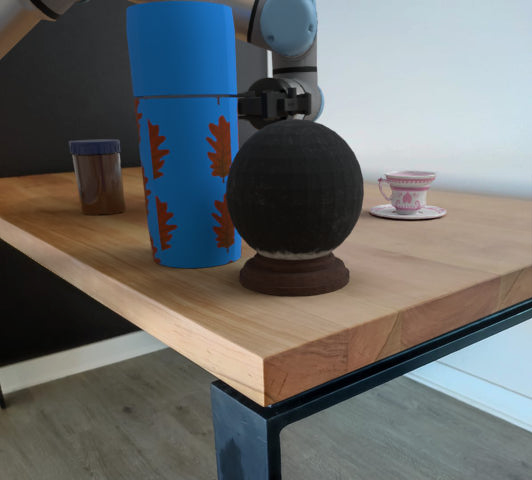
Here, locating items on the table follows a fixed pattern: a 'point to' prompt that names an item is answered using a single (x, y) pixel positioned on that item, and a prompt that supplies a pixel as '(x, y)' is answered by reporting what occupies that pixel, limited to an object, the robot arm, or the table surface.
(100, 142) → the lid
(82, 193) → the jar
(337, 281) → the black crystal ball
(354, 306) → the table surface
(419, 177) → the teacup
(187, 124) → the thermos
